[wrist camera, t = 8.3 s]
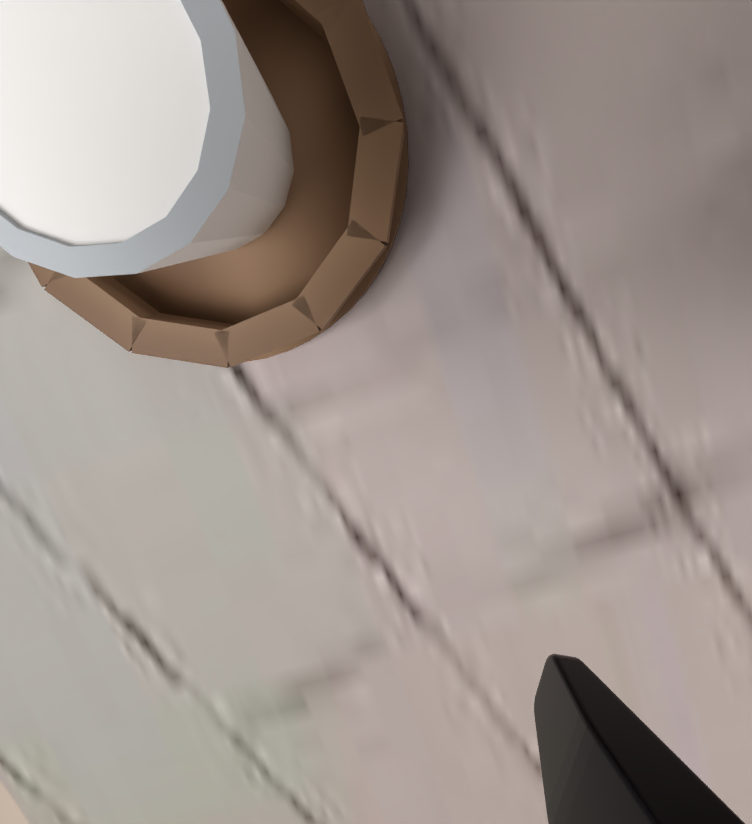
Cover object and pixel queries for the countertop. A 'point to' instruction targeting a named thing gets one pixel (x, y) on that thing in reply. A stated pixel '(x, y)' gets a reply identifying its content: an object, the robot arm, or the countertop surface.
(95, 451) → the countertop surface
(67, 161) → the white canister
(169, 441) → the countertop surface
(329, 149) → the round wooden tray
